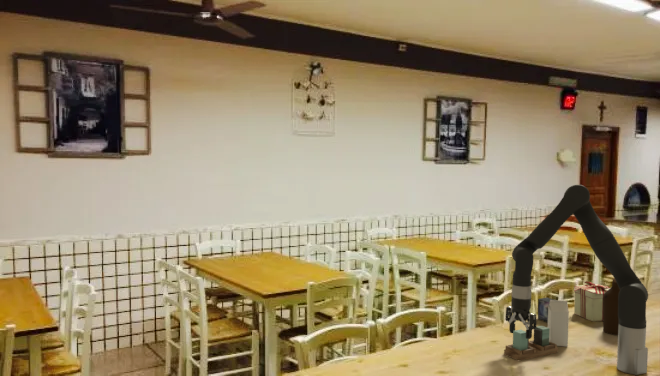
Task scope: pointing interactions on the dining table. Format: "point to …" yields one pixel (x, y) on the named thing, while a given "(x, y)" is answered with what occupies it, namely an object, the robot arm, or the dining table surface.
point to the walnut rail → (534, 346)
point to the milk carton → (558, 322)
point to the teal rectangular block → (520, 340)
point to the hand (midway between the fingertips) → (520, 335)
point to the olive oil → (611, 309)
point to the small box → (543, 308)
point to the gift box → (589, 301)
